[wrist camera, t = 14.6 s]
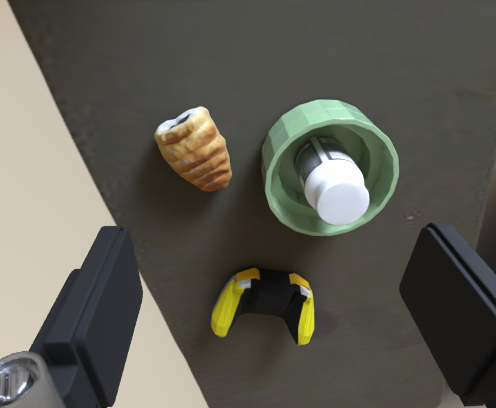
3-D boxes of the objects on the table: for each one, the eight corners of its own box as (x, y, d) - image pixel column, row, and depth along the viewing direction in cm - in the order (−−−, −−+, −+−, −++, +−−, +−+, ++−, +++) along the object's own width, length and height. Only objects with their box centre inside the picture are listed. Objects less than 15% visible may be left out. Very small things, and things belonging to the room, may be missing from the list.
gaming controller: (303, 319, 54) (324, 274, 49) (310, 350, 49) (334, 304, 44) (210, 308, 52) (221, 260, 47) (208, 340, 47) (220, 290, 42)
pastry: (246, 170, 39) (247, 186, 36) (196, 194, 41) (193, 212, 38) (203, 98, 35) (200, 109, 32) (149, 128, 36) (141, 142, 33)
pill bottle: (303, 187, 40) (322, 239, 32) (285, 147, 38) (300, 192, 29) (349, 167, 39) (382, 216, 31) (334, 124, 36) (365, 165, 28)
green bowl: (264, 96, 35) (270, 116, 30) (387, 100, 36) (415, 120, 30) (257, 203, 42) (261, 235, 36) (361, 204, 43) (380, 236, 37)
